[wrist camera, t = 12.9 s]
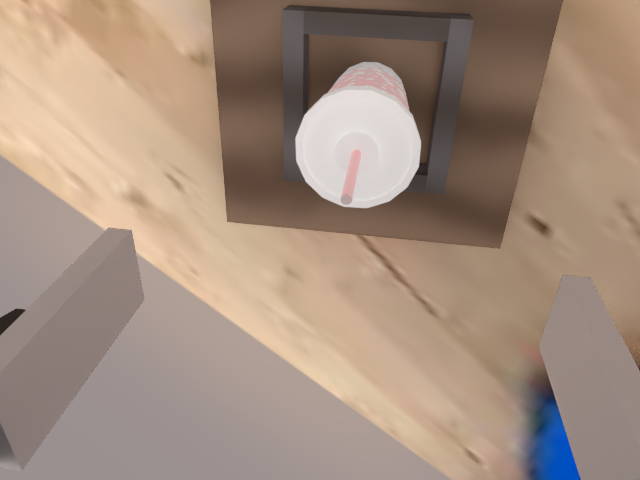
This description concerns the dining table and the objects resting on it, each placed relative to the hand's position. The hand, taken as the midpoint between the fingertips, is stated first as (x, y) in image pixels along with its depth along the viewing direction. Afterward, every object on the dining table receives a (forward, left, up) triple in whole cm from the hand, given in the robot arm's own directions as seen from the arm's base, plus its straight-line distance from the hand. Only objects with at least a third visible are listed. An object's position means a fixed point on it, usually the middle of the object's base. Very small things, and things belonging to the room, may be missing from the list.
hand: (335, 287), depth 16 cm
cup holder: (0, 0, -21) cm, 21 cm away
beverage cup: (0, 0, -20) cm, 20 cm away
